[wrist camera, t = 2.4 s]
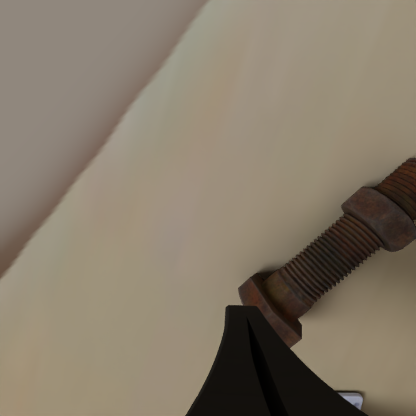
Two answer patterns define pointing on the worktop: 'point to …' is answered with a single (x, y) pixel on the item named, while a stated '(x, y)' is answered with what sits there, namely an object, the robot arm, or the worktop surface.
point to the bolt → (337, 251)
